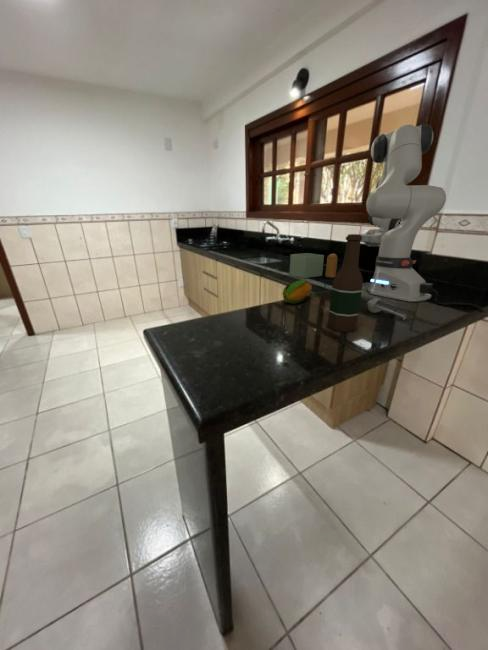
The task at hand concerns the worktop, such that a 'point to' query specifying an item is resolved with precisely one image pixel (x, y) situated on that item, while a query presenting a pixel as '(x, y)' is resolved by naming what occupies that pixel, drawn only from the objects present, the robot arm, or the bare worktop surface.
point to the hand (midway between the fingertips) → (353, 238)
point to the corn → (296, 291)
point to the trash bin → (306, 265)
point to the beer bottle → (347, 289)
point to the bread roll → (331, 265)
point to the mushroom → (381, 307)
